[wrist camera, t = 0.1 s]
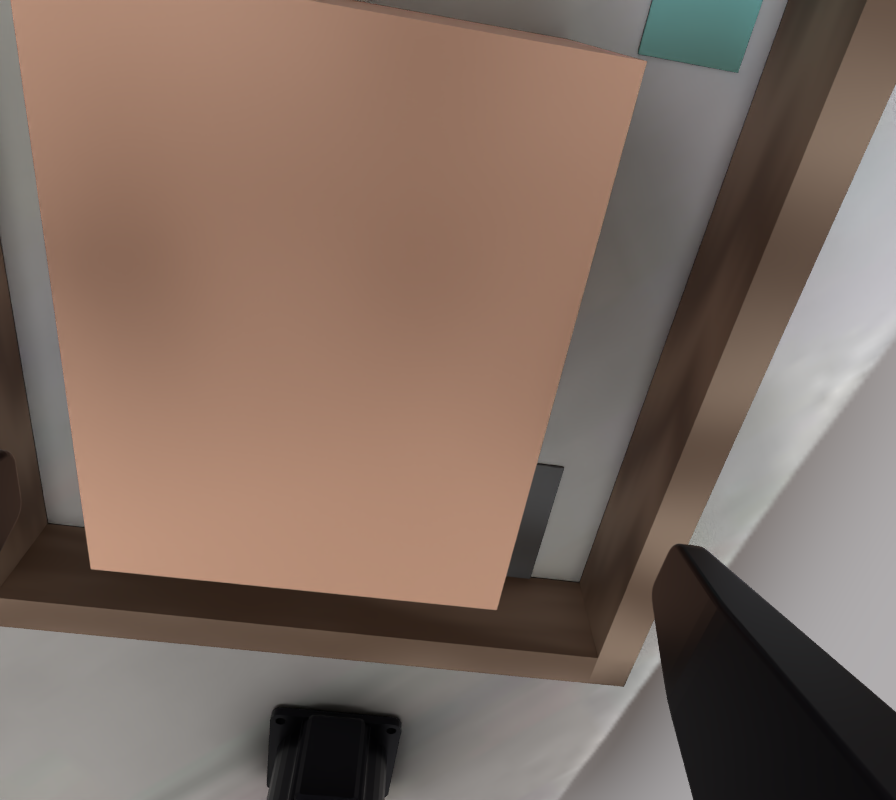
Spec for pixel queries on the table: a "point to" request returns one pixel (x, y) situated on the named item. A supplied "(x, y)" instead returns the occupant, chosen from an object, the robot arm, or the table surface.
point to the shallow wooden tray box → (634, 494)
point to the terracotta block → (314, 279)
